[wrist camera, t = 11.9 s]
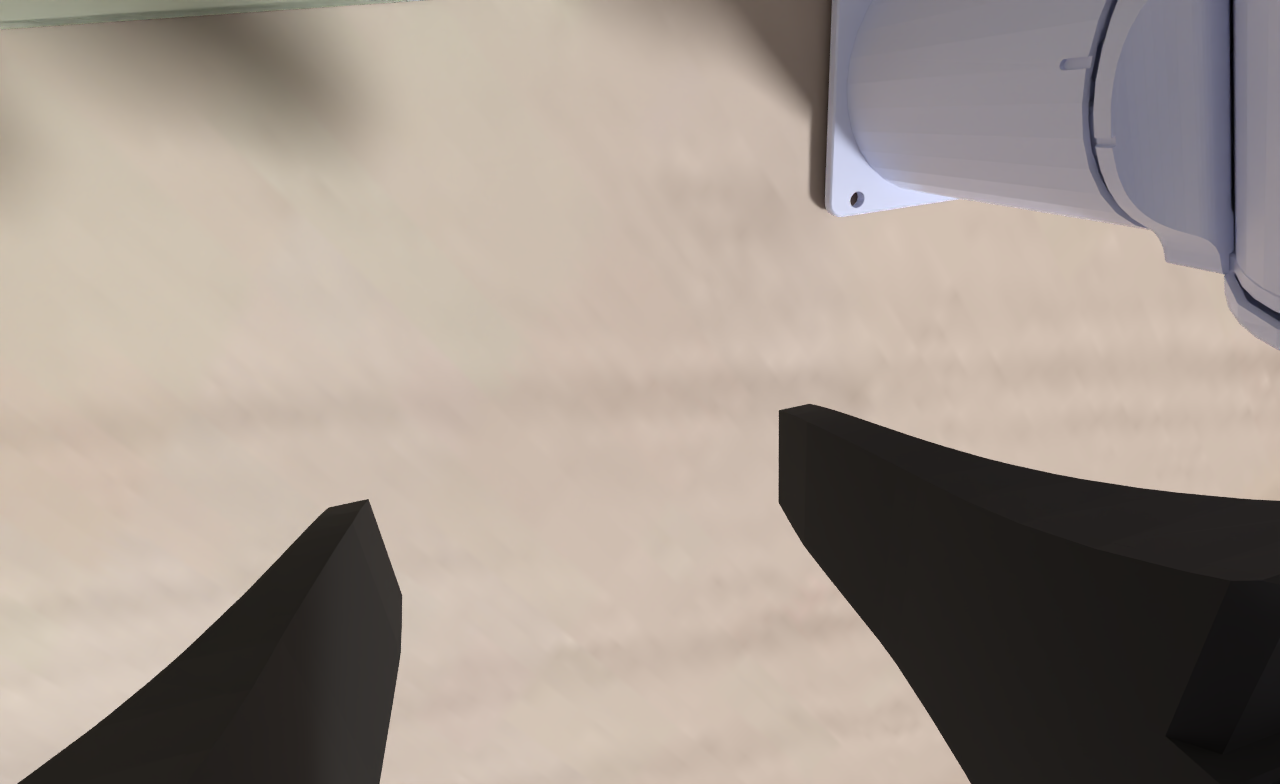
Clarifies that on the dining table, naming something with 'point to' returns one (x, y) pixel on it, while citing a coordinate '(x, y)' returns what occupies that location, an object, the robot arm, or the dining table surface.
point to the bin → (143, 9)
